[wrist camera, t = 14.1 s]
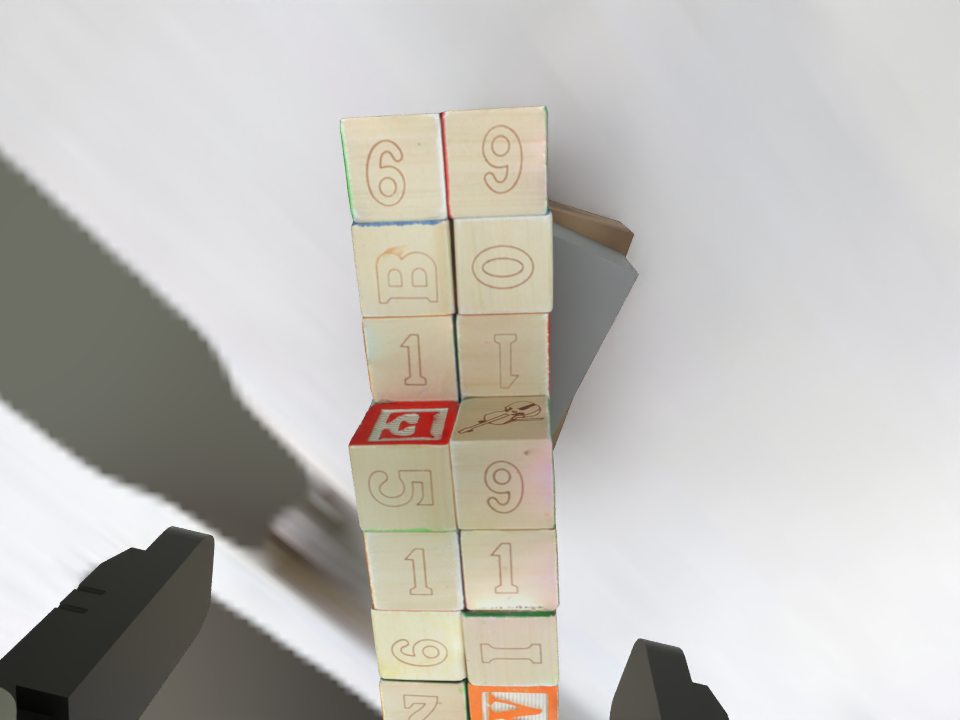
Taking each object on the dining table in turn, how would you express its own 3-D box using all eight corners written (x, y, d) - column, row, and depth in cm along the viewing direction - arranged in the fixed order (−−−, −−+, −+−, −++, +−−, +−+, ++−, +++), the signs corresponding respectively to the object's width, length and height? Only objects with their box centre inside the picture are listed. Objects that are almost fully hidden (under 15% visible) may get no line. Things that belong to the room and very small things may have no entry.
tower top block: (621, 252, 33) (639, 274, 28) (514, 458, 38) (511, 512, 32) (470, 184, 33) (456, 191, 27) (380, 401, 38) (353, 446, 32)
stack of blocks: (400, 124, 27) (300, 105, 15) (546, 116, 26) (559, 91, 14) (434, 543, 33) (383, 753, 22) (549, 544, 33) (560, 760, 21)
